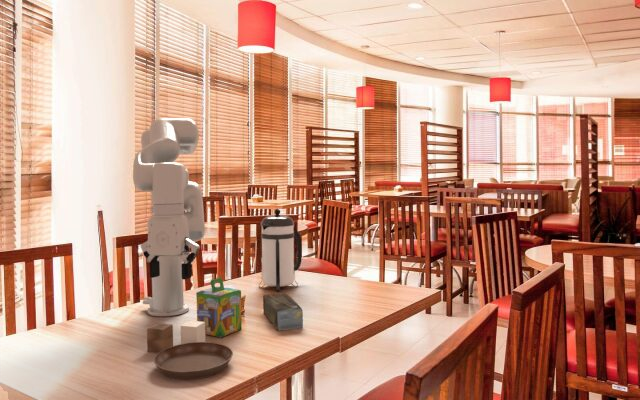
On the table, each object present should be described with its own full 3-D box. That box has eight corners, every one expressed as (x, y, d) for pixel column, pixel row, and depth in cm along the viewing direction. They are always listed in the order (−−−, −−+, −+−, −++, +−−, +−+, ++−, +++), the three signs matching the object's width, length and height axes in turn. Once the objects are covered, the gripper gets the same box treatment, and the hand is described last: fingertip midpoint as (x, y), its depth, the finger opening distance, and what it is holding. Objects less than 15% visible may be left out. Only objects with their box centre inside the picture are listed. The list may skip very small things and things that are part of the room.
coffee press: (299, 291, 189) (298, 210, 187) (256, 292, 189) (254, 210, 187) (301, 281, 206) (301, 206, 204) (262, 281, 206) (261, 207, 205)
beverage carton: (276, 331, 144) (276, 308, 144) (262, 313, 162) (262, 293, 162) (303, 328, 147) (303, 306, 146) (286, 311, 165) (286, 290, 164)
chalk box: (220, 338, 138) (219, 284, 137) (195, 333, 143) (194, 280, 142) (243, 329, 146) (242, 277, 145) (219, 324, 151) (218, 274, 150)
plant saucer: (245, 371, 116) (245, 358, 116) (167, 391, 106) (166, 376, 106) (216, 348, 131) (216, 337, 131) (145, 363, 121) (144, 351, 121)
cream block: (180, 348, 131) (180, 325, 130) (189, 343, 135) (189, 320, 134) (196, 350, 129) (196, 327, 129) (205, 344, 134) (204, 321, 133)
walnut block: (147, 351, 129) (146, 328, 128) (157, 345, 133) (157, 323, 132) (163, 353, 127) (162, 329, 127) (173, 347, 132) (172, 324, 131)
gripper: (131, 211, 131) (133, 278, 131) (189, 211, 125) (190, 282, 125) (150, 210, 138) (152, 273, 138) (206, 210, 132) (207, 276, 132)
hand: (170, 277), depth 132 cm, fingers open, 9 cm apart
